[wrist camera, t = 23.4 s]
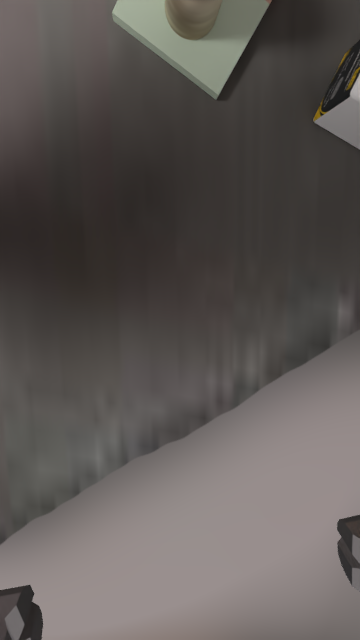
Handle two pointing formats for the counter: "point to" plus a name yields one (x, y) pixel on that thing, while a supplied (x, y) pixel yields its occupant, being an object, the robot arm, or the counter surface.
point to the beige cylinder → (192, 17)
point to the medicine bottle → (343, 100)
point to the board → (194, 55)
